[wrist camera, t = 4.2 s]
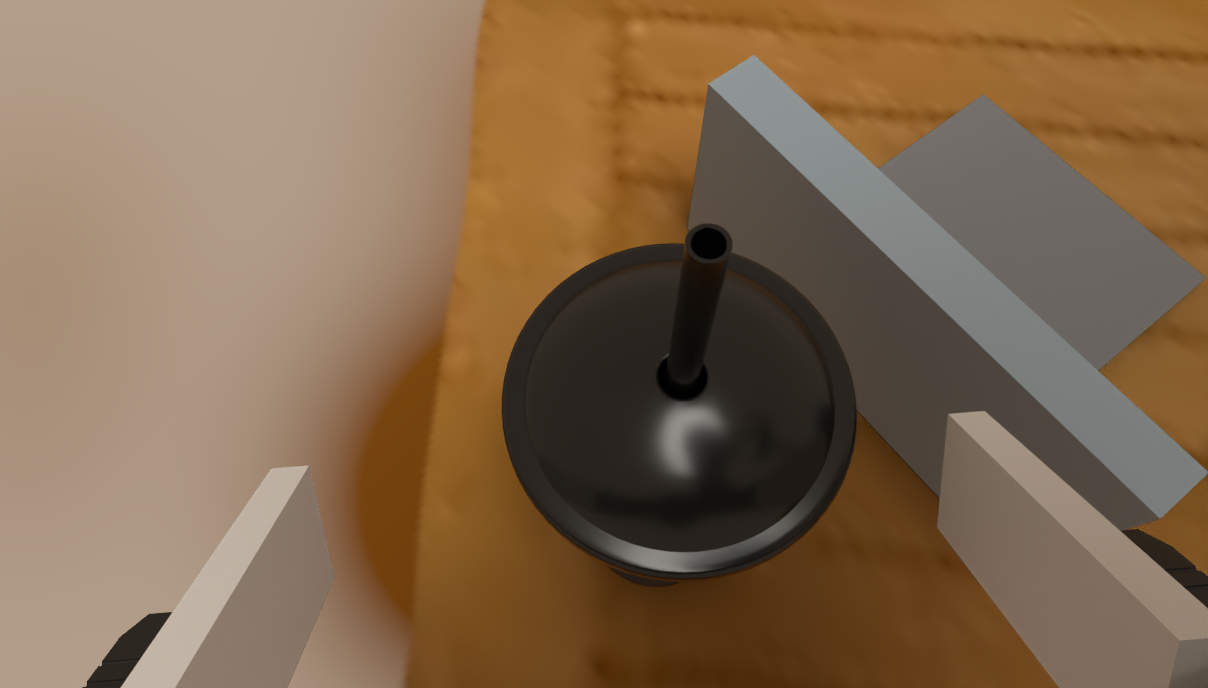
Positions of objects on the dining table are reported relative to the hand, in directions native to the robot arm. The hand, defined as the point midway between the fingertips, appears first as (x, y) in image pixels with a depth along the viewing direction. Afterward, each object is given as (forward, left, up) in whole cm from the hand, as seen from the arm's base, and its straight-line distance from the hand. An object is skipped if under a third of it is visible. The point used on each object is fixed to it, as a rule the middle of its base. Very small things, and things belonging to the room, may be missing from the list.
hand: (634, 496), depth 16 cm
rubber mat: (-20, -1, -13) cm, 24 cm away
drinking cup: (-2, -1, -14) cm, 14 cm away
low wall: (-12, -1, -13) cm, 18 cm away
